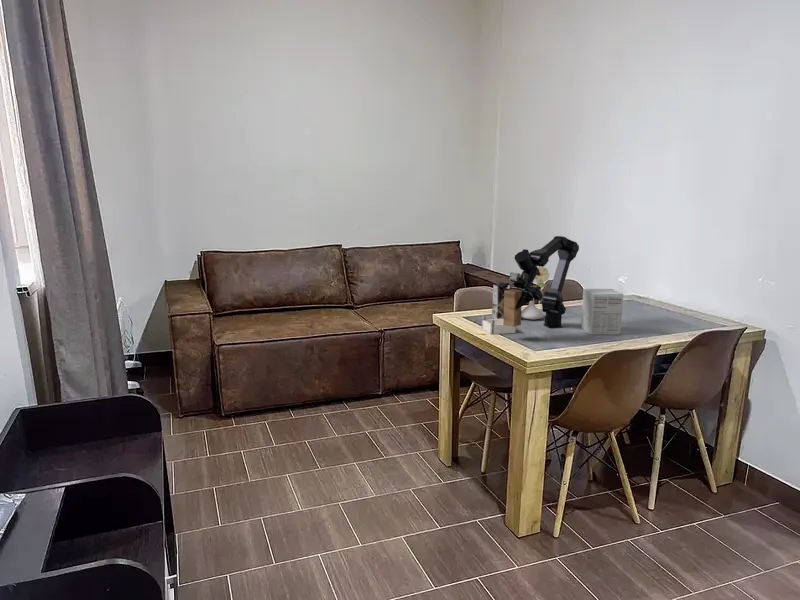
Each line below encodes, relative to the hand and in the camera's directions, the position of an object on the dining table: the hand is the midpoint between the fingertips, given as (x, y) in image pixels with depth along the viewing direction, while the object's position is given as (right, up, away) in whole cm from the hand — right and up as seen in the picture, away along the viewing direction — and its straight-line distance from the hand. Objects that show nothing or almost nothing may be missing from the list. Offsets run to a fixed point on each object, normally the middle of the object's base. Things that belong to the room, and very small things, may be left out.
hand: (510, 307), depth 241 cm
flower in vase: (+18, -6, +41) cm, 45 cm away
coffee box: (+4, -6, +39) cm, 40 cm away
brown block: (+1, -7, +2) cm, 7 cm away
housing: (-2, -10, +17) cm, 20 cm away
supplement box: (+42, -11, +18) cm, 47 cm away
